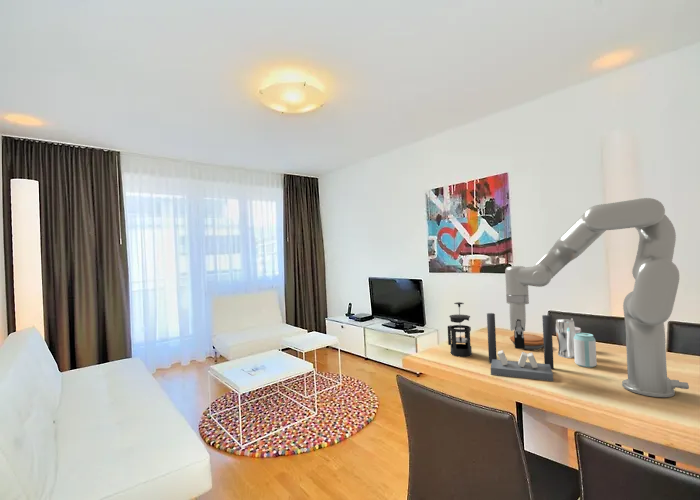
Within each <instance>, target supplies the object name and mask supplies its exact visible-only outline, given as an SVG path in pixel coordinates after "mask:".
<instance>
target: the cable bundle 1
mask: <svg viewBox="0 0 700 500" xmlns="http://www.w3.org/2000/svg"><path fill="white" fill-rule="evenodd" d="M486 321H487V322H486V324H487V325H486V326H487V349H488V363H489V364H491V363H492V359H497V360H498V357H497V356H498V353H497V338H496V334H497V333H496V314H495V313H492V312H488V313H486Z"/></svg>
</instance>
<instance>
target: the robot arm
mask: <svg viewBox="0 0 700 500" xmlns="http://www.w3.org/2000/svg"><path fill="white" fill-rule="evenodd" d="M632 228H635V229H636V231H637V232H638V237H639V240H638V244H637V245H638V247H637V251H636V256H635V258H634V259H635V261H634V264H633V267H632V271H631V273H632V277H633V278H634V280H635V281H634V286H633V290H632V291H630V292H629V293H628V294H626V296H625V297H624V298H623V299H624V300H623V305H622V307H623V308H622V309H623V315H624V323H625V324H624V326H625V345H626V346H625V347H626V363H627V364H626V367H627V379H624V380H622V381H621V385H622V387H623V388H624V389H625V390H627V391H629V392H632V393H636V394H639V395H642V396H646V397H653V398H672V397H673V396H675V392H676V391H675V389H676V388H677V389H683V390H689V388H690V386H689V383H688V382H684V381H680V380H679V379H671V378H669V377H668V372H667V371H668V369H667V351H666V349H667V348H666V343H667V342H666V331H665V322H667V320H669V319H670V317H671V315H672V313H673V309H674V305H675V301H676V297H677V293H678V288H679V285H680V284H679V283H680V271H679V268H678V266H677V265H676V264H675V263H674V262H673V259H674V254H675V253H674V252H675V247H676V241H677V237H676V236H677V235H676V230H675V227H674V224H673V223H672V221H671V220H670V218H669V217H668V216H667V215H666V208H665V205H664V204H663V203H662V202H661V201H659V200H657V199H655V198H651V197H643V198H637V199H629V200H623V201H617V202H616V201H615V202H609V203H608V202H607V203H603V204H602V203H601V204H595V205H593V206H591V207H589V208H588V209H587V210H586V211H585V212H584V213H583V214H582V215H581V216H580V217H579V218H578V219H577V220H576V221H575V222H574V223H572V225H571V226H570V227H569V228H568V229H567V230H566V231H565V232H564V233H563V234H561V236H560V237H559V238H558V239H557V240H556V241H555V243H554V244H553V246H552V247H551V248H550V249H549V250H548V251H547V253H546V254H544V256H543V257H541V259H539V261H537V262H536V264H534V265H533V266H524V265H523V266H522V265H511V266H507V267H506V268H505V273H504V274H505V293H506V295H505V297H506V298H505V299H506V304H509V328H510V329H509V330H510V331H511V332H513V331H514V332H513V334H514V335H513V336H514V341H515V345H514V348H515V349H517V350H526V349H525V344H524V334H525V333H524V332H525V331H526V322H527V318H526V317H527V313H526V311H527V310H526V305H528V304H530V301H529V300H530V299H529V298H530V297H529V296H530V295H529V286H530V287H536V288H537V287H538V288H542V287H545V286H547V285H549V283H551V280H552V279H554V277H555V276H556V275H558V273H559V272H560V271H562V269H563V268H565V266H567V265H568V264H569V263H571V262H572V261H574V260H575V259H577V258H579V256H580V255H582V254H583V253H584V252H585V251H586V250H587V249H588V248H589V247H591V245H592V244H594V243H595V241H596V240H597V239H599V238H600V237H601V236H602V235H603V234H605V232H606V231H615V230H616V231H617V230H623V229H632Z"/></svg>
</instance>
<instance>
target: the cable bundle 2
mask: <svg viewBox="0 0 700 500" xmlns="http://www.w3.org/2000/svg"><path fill="white" fill-rule="evenodd" d="M541 316H542V319H541V320H542V336H543V337H542V338H543V341H544V345H543V356H544V357H543V359H544V360H543V362H544V363H543V364H550V366H551V370H554V368H555V367H554V347H553V346H554V343H553V325H552V324H553V322H552V315H549V314H543V315H541Z"/></svg>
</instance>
